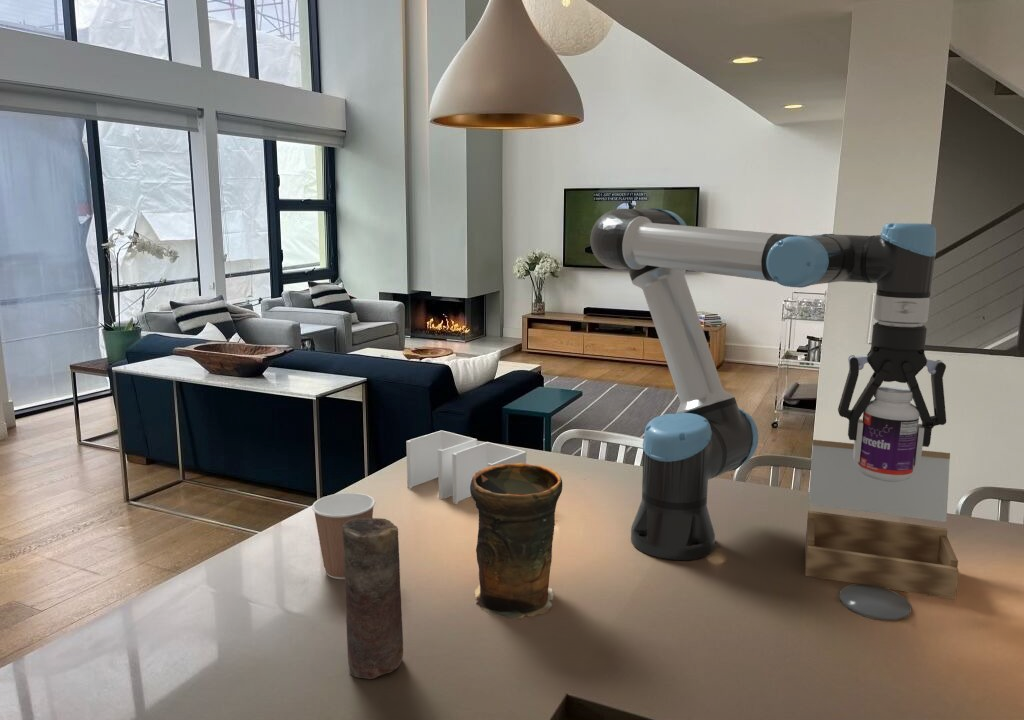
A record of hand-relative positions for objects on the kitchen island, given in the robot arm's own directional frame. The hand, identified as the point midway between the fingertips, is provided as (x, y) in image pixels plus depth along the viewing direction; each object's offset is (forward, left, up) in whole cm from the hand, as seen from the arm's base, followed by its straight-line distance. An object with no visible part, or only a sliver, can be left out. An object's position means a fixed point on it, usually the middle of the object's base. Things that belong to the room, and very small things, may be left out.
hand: (885, 461), depth 121 cm
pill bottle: (0, 0, -2) cm, 2 cm away
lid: (0, +11, -7) cm, 13 cm away
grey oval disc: (-1, -10, -20) cm, 22 cm away
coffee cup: (-84, -30, -20) cm, 91 cm away
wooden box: (0, +2, -20) cm, 20 cm away
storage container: (-80, +10, -21) cm, 83 cm away
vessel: (-54, -28, -20) cm, 64 cm away
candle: (-65, -52, -20) cm, 85 cm away
